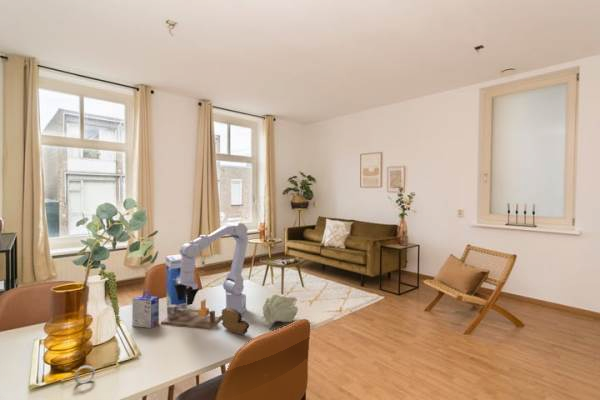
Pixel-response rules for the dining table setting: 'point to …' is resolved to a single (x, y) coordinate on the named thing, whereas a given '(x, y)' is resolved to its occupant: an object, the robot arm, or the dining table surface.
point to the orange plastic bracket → (203, 309)
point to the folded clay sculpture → (279, 309)
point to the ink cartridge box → (145, 311)
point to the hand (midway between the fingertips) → (185, 302)
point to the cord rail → (189, 318)
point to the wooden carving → (234, 321)
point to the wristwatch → (85, 380)
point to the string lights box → (174, 281)
